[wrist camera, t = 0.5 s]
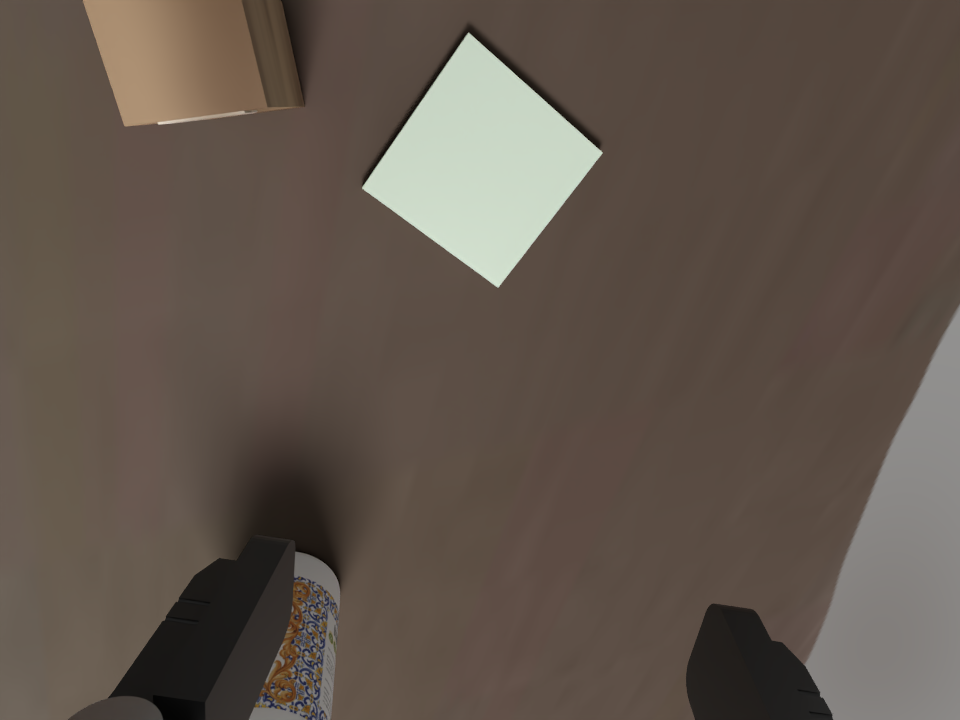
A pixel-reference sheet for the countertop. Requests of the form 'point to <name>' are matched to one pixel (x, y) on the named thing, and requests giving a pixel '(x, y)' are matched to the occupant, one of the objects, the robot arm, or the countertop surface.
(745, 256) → the countertop surface
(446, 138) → the mat
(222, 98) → the brown wooden block
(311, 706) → the bath foam
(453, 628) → the countertop surface
